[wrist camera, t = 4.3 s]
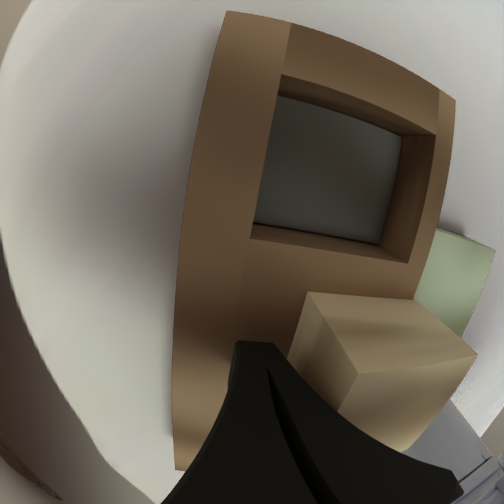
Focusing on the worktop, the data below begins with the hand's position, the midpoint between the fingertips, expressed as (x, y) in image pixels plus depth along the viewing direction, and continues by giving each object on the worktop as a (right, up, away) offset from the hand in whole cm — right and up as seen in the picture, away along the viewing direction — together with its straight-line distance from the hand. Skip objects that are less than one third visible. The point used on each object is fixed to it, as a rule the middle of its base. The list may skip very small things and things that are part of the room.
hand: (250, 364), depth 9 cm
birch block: (+4, 0, +1) cm, 4 cm away
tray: (+4, 0, +4) cm, 6 cm away
